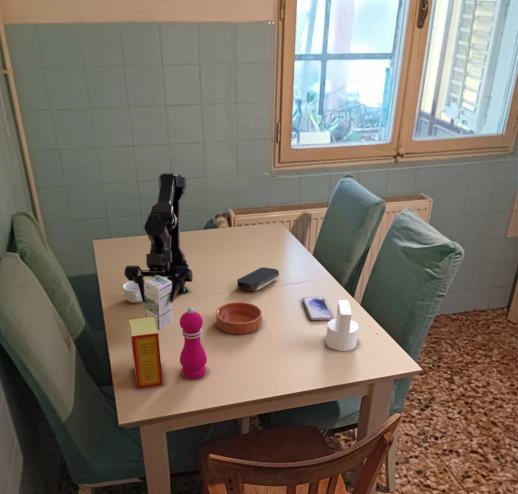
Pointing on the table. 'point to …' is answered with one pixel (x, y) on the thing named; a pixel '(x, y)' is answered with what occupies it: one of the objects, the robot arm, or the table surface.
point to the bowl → (239, 317)
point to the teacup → (132, 292)
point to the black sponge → (258, 279)
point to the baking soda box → (146, 352)
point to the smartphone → (317, 308)
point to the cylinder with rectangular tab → (342, 329)
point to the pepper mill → (192, 345)
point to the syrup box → (158, 300)
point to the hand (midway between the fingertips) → (157, 302)
